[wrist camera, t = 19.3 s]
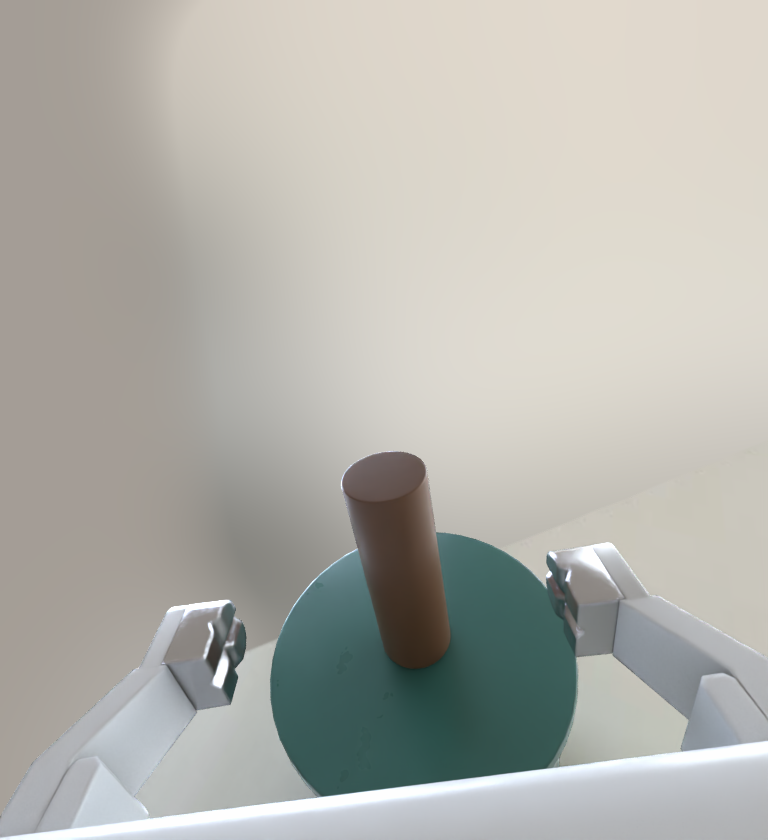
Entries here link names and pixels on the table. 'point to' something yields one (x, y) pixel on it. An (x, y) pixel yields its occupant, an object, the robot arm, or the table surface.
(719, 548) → the table surface
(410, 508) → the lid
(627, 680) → the table surface
